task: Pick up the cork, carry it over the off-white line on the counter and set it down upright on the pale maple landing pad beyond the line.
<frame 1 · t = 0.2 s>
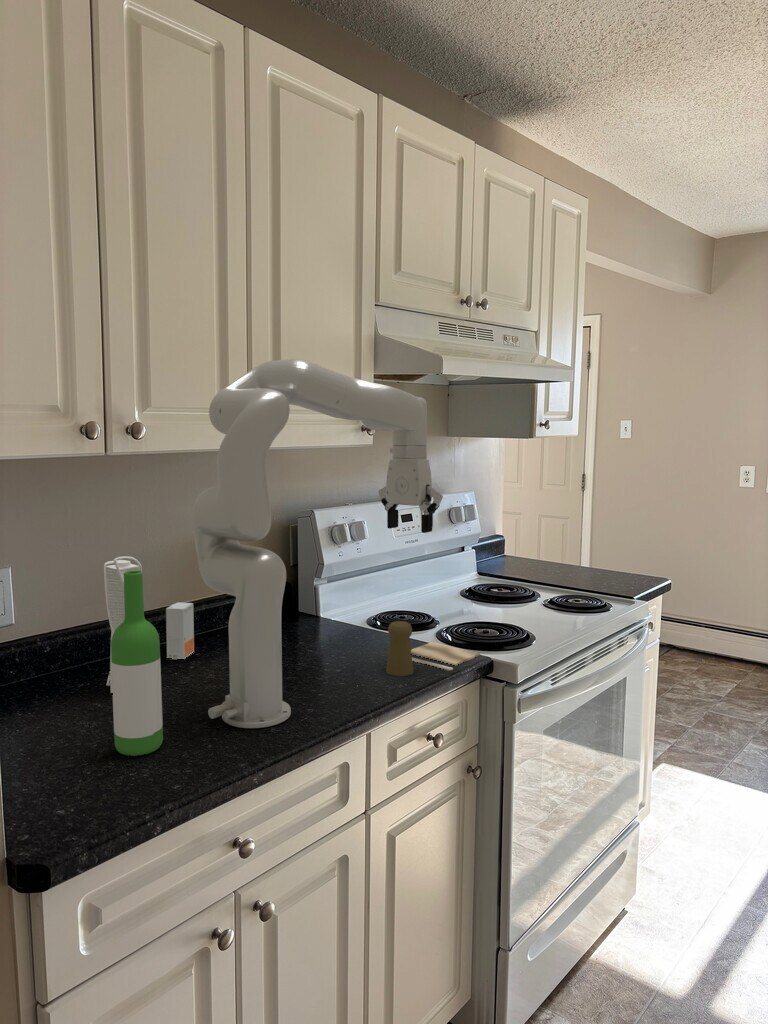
hand: (409, 529, 173), 30 cm above the worktop, tool pointing down, fingers open, 9 cm apart
skyscraper: (129, 690, 157), on the worktop
wine bottle: (139, 749, 129), on the worktop
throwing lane: (422, 662, 175), on the worktop
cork: (399, 672, 169), on the worktop
skincare box: (181, 656, 179), on the worktop
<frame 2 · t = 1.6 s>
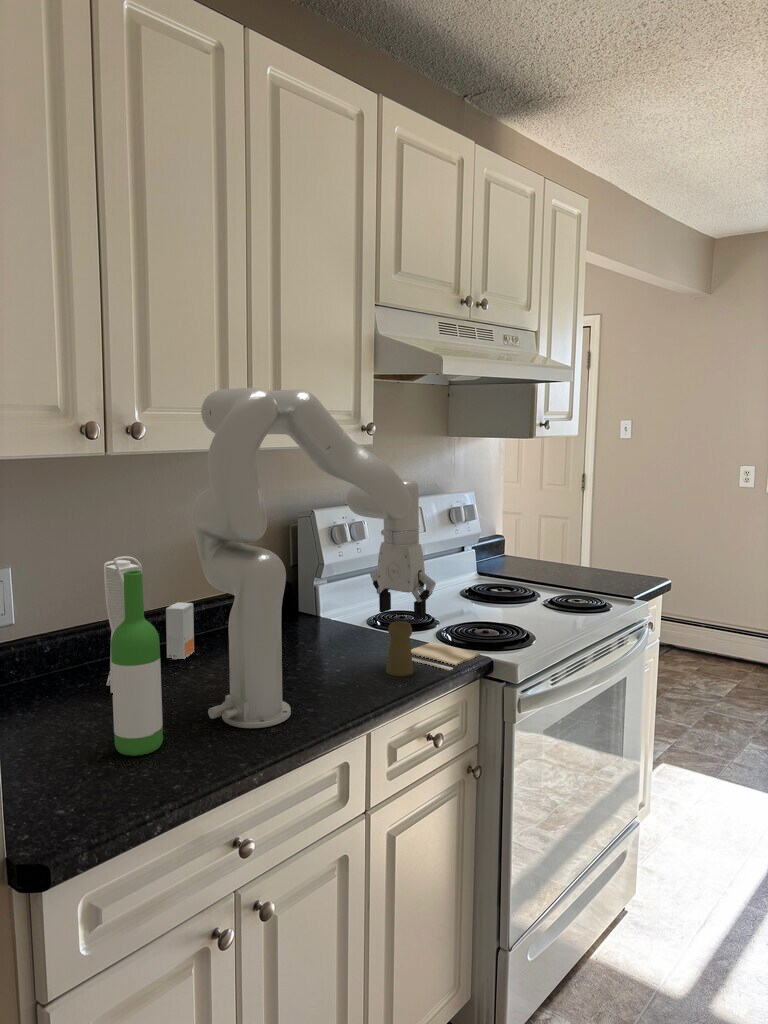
hand: (402, 614, 168), 13 cm above the worktop, tool pointing down, fingers open, 9 cm apart
nothing on the worktop moved.
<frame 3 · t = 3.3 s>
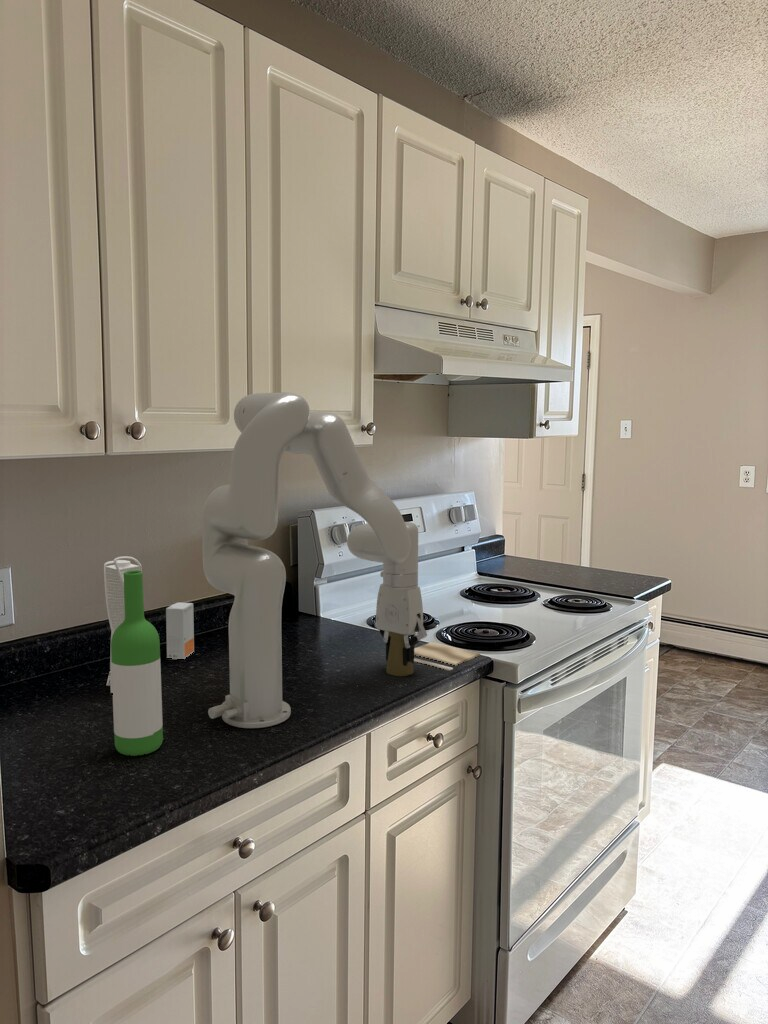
hand: (399, 661, 168), 2 cm above the worktop, tool pointing down, fingers closed on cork, 4 cm apart
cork: (399, 672, 169), on the worktop, touching gripper
everything else where it was.
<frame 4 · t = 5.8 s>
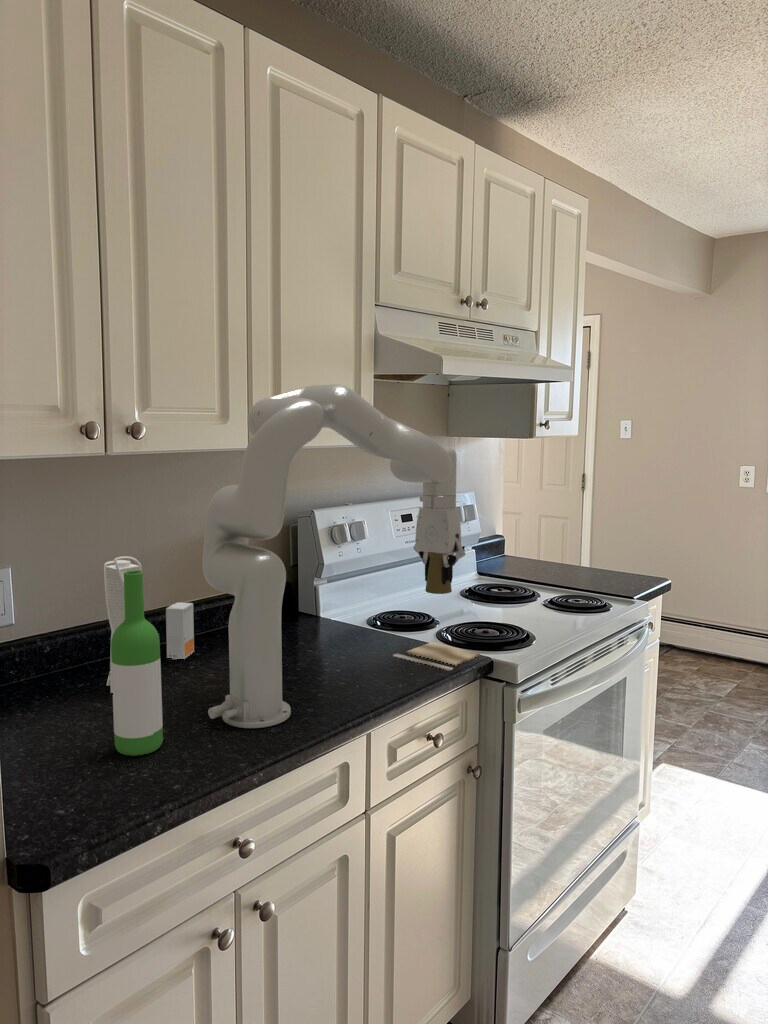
hand: (438, 581, 177), 18 cm above the worktop, tool pointing down, fingers closed on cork, 4 cm apart
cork: (438, 591, 177), point 15 cm above the worktop, touching gripper
everything else where it was.
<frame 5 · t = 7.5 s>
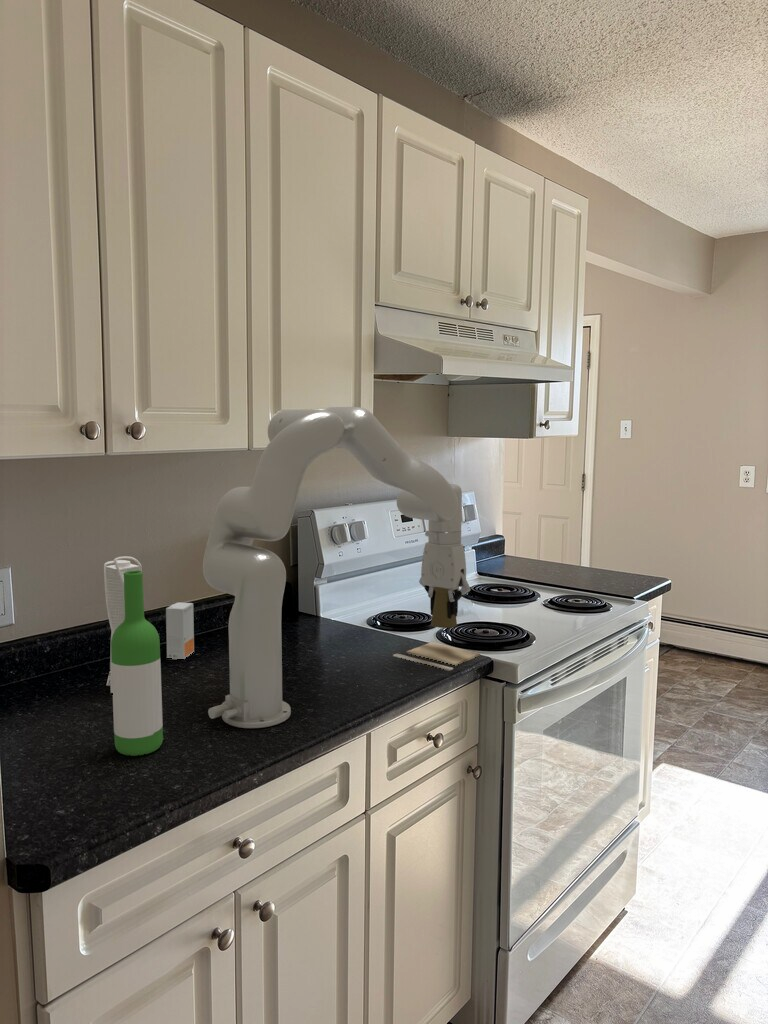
hand: (443, 614, 180), 9 cm above the worktop, tool pointing down, fingers closed on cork, 4 cm apart
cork: (443, 625, 180), point 7 cm above the worktop, touching gripper
everything else where it was.
when the fingers open (4 cm above the worktop, at t = 8.8 s): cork drops 1 cm, resting on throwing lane.
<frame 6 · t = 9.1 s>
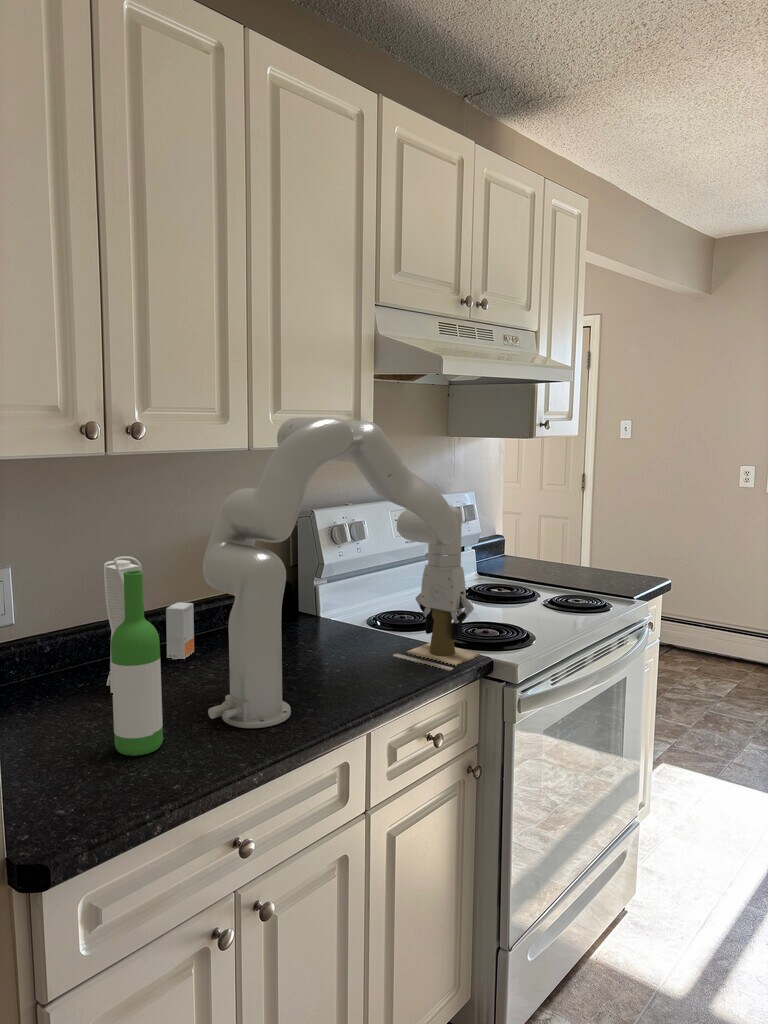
hand: (443, 635, 180), 5 cm above the worktop, tool pointing down, fingers open, 6 cm apart
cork: (442, 653, 181), resting on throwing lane
everything else where it was.
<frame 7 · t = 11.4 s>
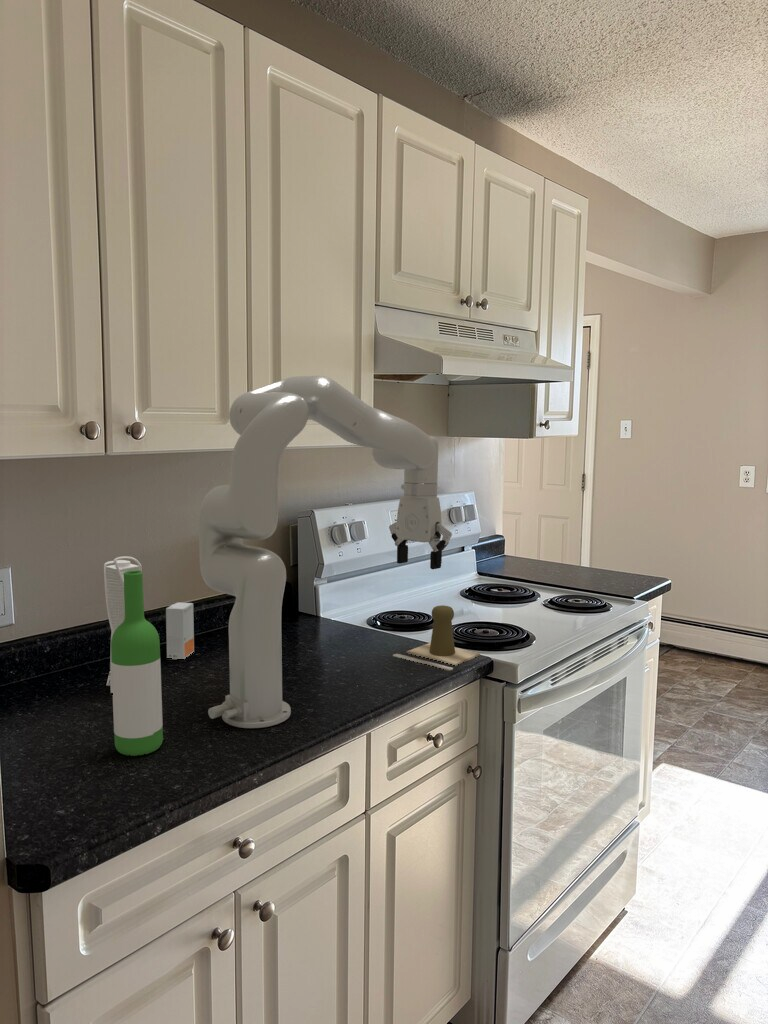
hand: (418, 565, 176), 22 cm above the worktop, tool pointing down, fingers open, 9 cm apart
nothing on the worktop moved.
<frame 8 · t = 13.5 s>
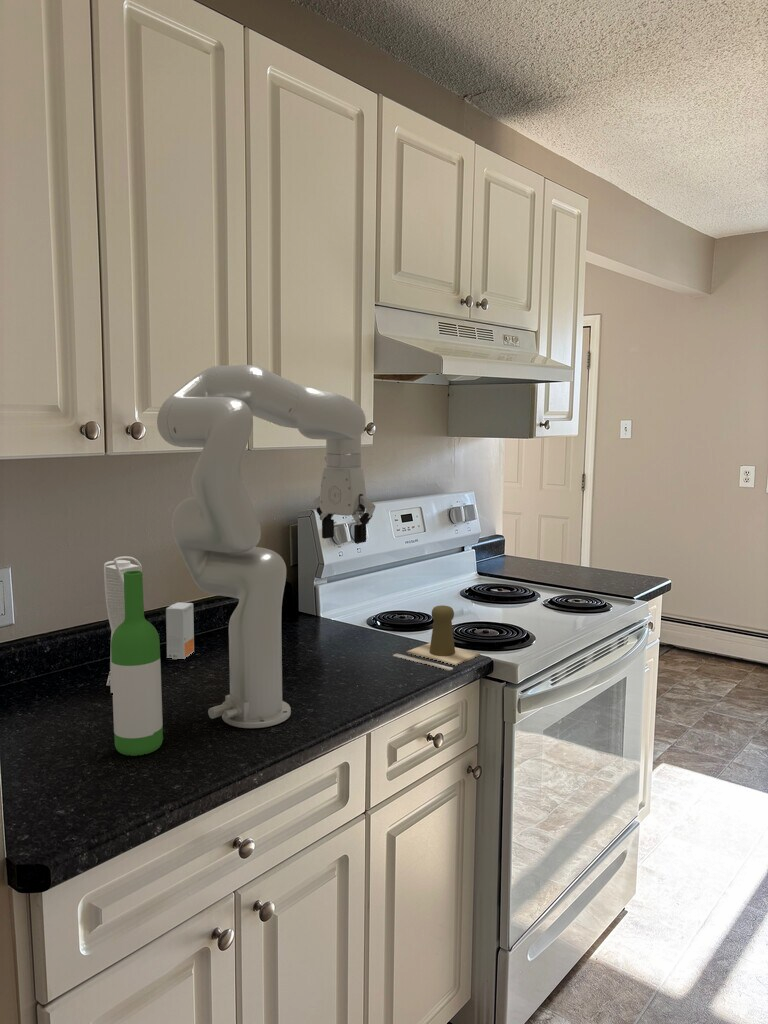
hand: (343, 540, 169), 28 cm above the worktop, tool pointing down, fingers open, 9 cm apart
nothing on the worktop moved.
at the end: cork inside the target area (0.2 cm from its centre), on the worktop; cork tilted 0°; the gripper is holding nothing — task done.
